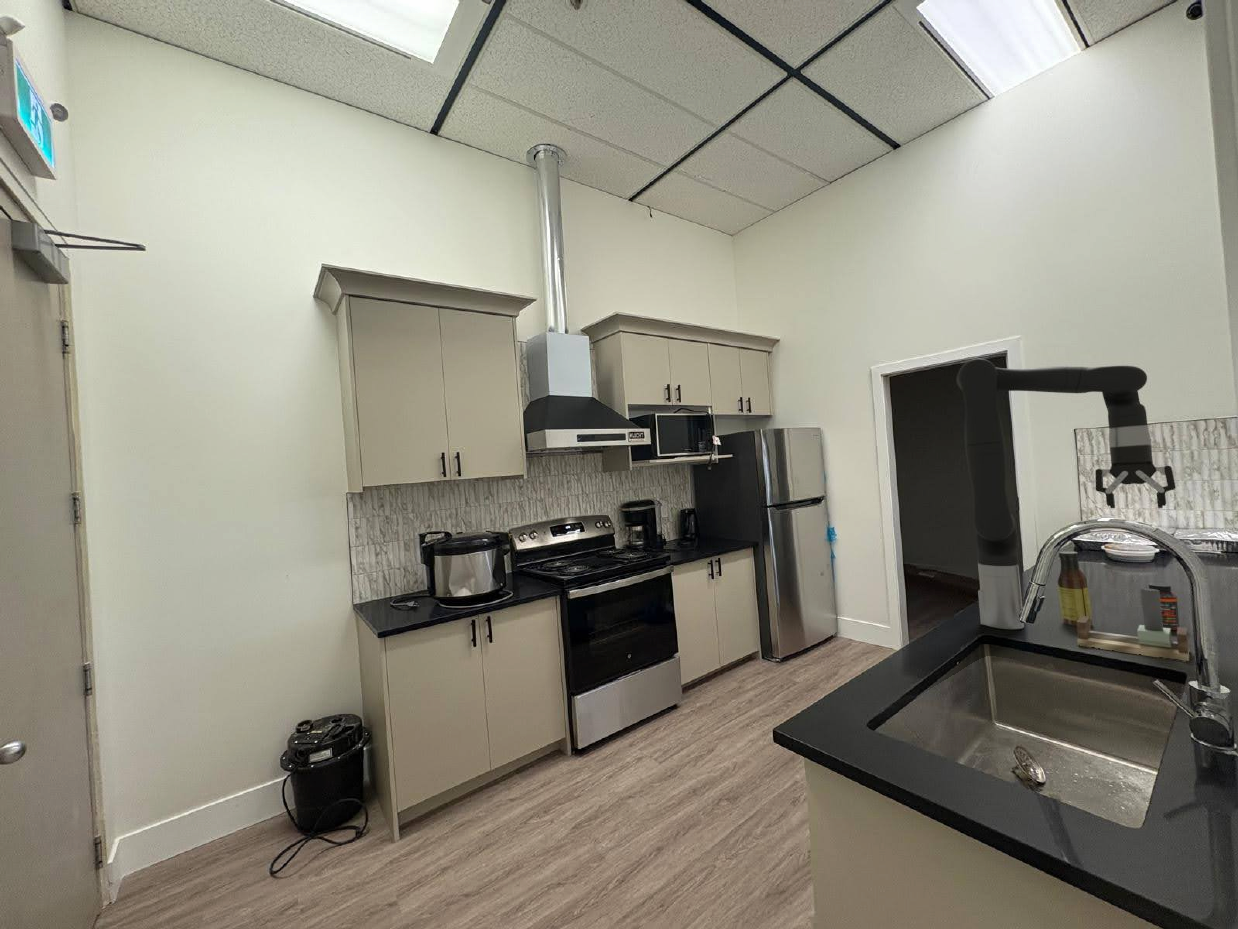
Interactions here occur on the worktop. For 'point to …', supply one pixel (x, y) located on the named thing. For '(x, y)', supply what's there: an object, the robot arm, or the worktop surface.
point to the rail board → (1131, 642)
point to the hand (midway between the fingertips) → (1136, 508)
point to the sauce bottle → (1073, 589)
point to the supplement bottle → (1167, 605)
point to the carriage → (1153, 621)
